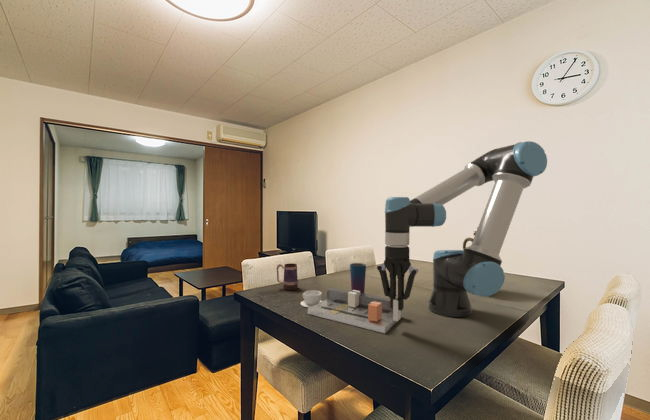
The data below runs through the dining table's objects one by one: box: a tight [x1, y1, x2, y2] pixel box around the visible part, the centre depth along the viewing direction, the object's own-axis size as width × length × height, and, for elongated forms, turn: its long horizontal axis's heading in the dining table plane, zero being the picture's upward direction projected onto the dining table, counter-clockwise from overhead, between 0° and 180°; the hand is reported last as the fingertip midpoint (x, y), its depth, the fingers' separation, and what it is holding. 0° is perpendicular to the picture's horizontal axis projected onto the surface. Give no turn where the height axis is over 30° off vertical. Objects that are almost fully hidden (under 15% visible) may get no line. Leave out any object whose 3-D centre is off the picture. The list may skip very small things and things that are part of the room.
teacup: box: [300, 289, 323, 308], centre depth 118 cm, size 10×10×5 cm
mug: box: [276, 263, 299, 291], centre depth 140 cm, size 10×7×12 cm
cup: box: [349, 262, 367, 294], centre depth 123 cm, size 7×7×15 cm
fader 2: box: [368, 301, 382, 322], centre depth 96 cm, size 3×4×5 cm
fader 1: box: [348, 290, 360, 307], centre depth 109 cm, size 3×4×5 cm
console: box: [307, 287, 403, 334], centre depth 105 cm, size 30×16×6 cm, turn 57°
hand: (396, 319), depth 92 cm, fingers closed
